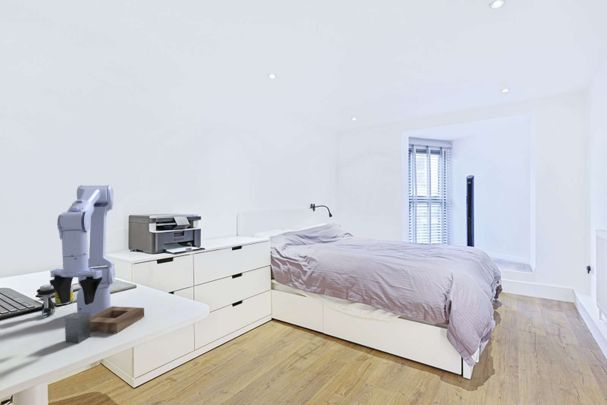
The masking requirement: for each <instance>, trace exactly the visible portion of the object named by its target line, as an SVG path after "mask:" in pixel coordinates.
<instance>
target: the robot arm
mask: <svg viewBox="0 0 607 405" xmlns="http://www.w3.org/2000/svg"><path fill="white" fill-rule="evenodd" d="M113 206H114V189H113V187H112V186H111V185H110V184H108V185H82V184H80V185H78V187H77V189H76V200H75V201H73V203H72V204H71V205H70V207H69V208H68V210H67V211H64V212H61V213H60V214H59V215H58V217H57V220H56V221H57V223H56V225H57V230H58V233H59V240H61V246H62V247H61V249H62V255H61V256H62V268H56V269H52V270H50V278H52V279H50V280H49V284H51V285H52V286H53V287H54V288H55V290H56V292H57V294H58V296H59V299H60V301H61V304H64V303H66V302H69V301H70V291H71V283H72V284H73V279H74V278H77V282H78V285H79V286H80V288H79V290H78V291H77V294H76V310H77V311H76V313H77V312H84V313H90V316H92V315H95V314H97V313H99V312H101V311H103V310H105V309H107V308H109V307H111V306H112V305H111V286H110V285H112V284H113V283H114V282H115V278H116V270H115V263H114V262H113V260H111V259H109V258H107V257H106V238H107V237H106V234H107V230H106V229H107V215H108V212H109V211H111V210H113ZM88 232H89V244H88ZM88 246H89V247H88ZM114 306H115V305H114ZM115 307H117V305H116V306H115Z"/></svg>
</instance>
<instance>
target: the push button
mask: <svg viewBox="0 0 607 405" xmlns="http://www.w3.org/2000/svg"><path fill="white" fill-rule="evenodd" d="M55 292H56V290H55V288H54V287H53V286H52V285H51V284H50V283H49V284H44V285H41V286H40V287H39V288H38V289H37V290H36V293H37V295H38V296H40V297H43V302H42V304H41V309H42V310H41V317H42V319H45V318H49V317H50V316H51V315H54V314H55V312H56V310H55V309H56V308H55V306H56V304H54V302H53V300H52V295H55Z"/></svg>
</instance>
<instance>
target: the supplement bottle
mask: <svg viewBox="0 0 607 405" xmlns="http://www.w3.org/2000/svg"><path fill="white" fill-rule="evenodd" d="M73 285H74V284H73V282H72V283H71V291H70V301H69V302H66V303H64V304H67V305H70V304H71V303H70V302H71V301H73V302H74V290H73V289H74V286H73ZM54 302H55V303H56V304H61V301H60V299H59V296H58V294H57V292H55V293H54ZM69 303H70V304H69ZM56 304H55V305H56Z"/></svg>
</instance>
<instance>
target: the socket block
mask: <svg viewBox="0 0 607 405" xmlns="http://www.w3.org/2000/svg"><path fill="white" fill-rule="evenodd" d="M143 318H145V307H135V306H133V307H131V306H116V307H115V305H111V307H109V308H107V309H105V310H103V311H101V312H99V313H97V314H95V315H92V316H90V333H92V332H93V333H108V334H118V333H120V332H121V331H123V330H125V329H126V328H128V327H130V326H131V325H134V324H135V323H137V322H138V321H140V320H142V319H143Z"/></svg>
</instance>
